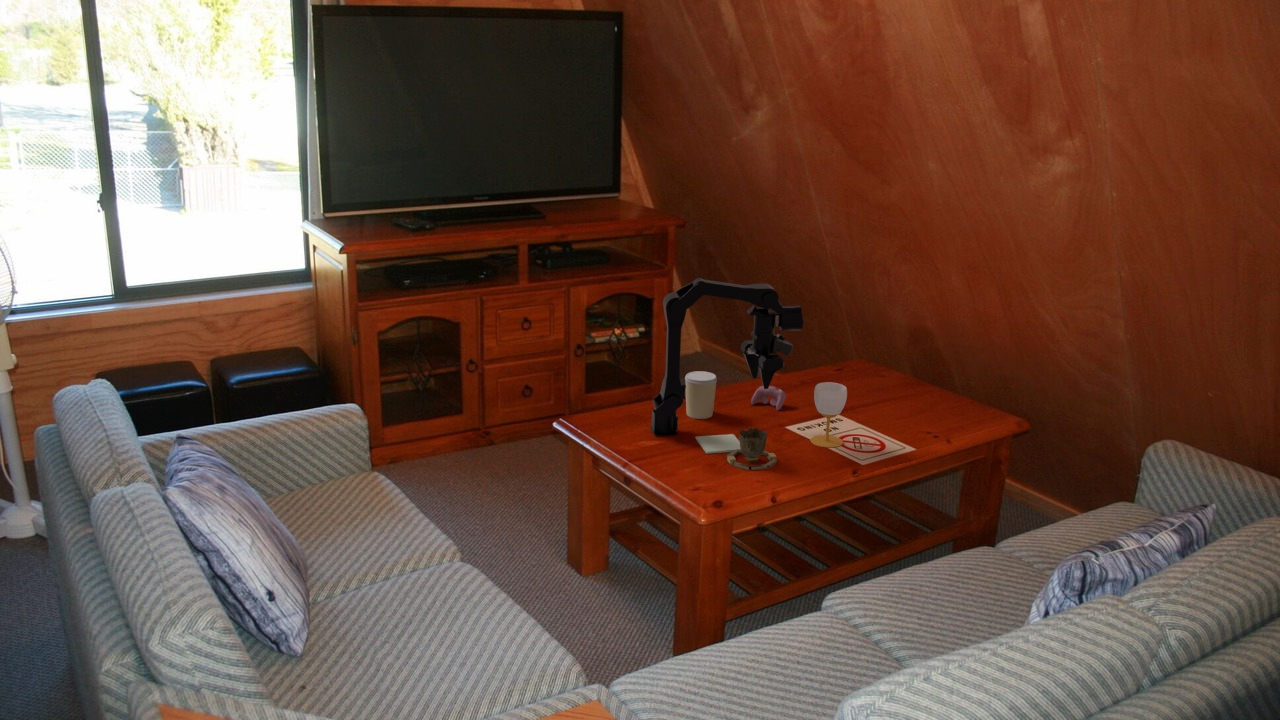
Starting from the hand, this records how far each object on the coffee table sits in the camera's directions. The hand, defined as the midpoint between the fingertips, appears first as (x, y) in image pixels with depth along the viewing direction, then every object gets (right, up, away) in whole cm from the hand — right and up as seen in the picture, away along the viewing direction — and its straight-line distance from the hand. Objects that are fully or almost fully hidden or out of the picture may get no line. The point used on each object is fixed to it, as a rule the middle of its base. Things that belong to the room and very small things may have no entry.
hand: (760, 383), depth 293 cm
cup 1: (-4, -20, -17) cm, 26 cm away
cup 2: (+18, -16, -3) cm, 25 cm away
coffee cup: (-16, -10, +16) cm, 25 cm away
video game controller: (+5, -7, +25) cm, 26 cm away
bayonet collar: (-4, -20, -17) cm, 26 cm away
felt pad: (-12, -17, -7) cm, 21 cm away
